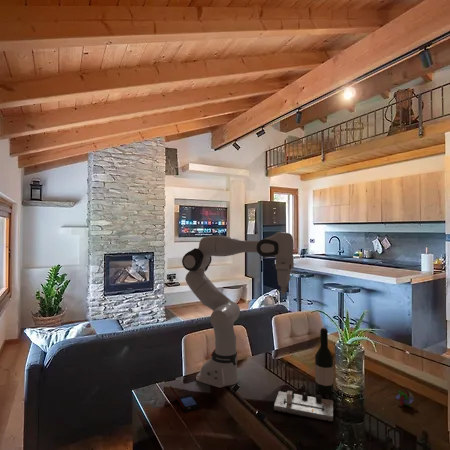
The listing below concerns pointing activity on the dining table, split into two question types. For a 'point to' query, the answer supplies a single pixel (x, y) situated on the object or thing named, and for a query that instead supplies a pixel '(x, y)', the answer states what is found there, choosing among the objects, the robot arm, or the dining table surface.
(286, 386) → the dining table surface
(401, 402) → the geometric puzzle
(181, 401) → the handheld game console
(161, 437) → the dining table surface
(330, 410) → the console
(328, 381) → the wine bottle
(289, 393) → the fader
